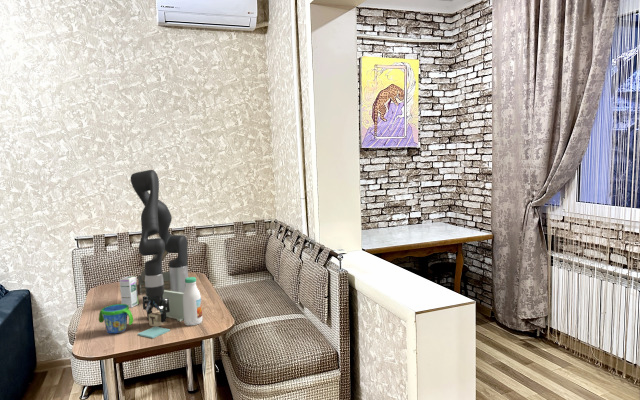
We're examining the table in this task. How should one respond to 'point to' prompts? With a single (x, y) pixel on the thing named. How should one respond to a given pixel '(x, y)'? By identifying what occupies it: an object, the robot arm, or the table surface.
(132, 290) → the syrup box
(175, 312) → the screen
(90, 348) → the table surface
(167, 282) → the bible
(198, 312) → the milk bottle
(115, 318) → the snack cup
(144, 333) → the pad
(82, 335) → the table surface
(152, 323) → the letter cube
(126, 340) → the table surface
